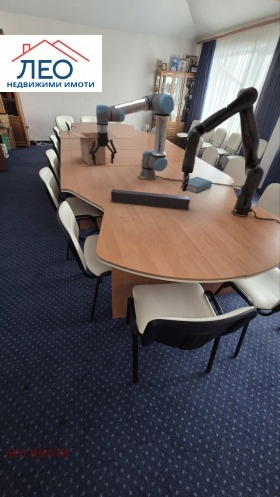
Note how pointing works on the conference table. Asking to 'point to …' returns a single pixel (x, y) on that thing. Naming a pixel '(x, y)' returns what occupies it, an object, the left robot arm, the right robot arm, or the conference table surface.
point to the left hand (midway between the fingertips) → (103, 164)
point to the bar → (150, 199)
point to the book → (198, 184)
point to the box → (86, 144)
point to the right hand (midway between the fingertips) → (183, 188)
